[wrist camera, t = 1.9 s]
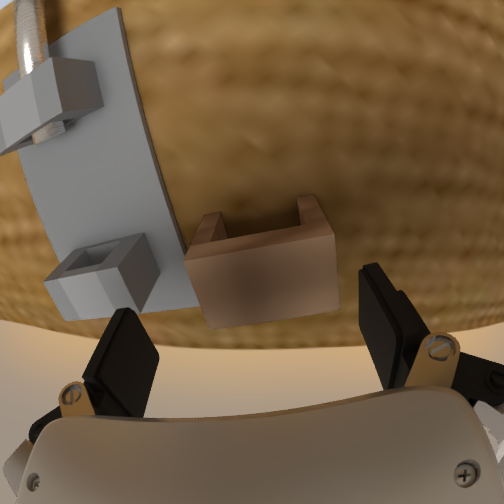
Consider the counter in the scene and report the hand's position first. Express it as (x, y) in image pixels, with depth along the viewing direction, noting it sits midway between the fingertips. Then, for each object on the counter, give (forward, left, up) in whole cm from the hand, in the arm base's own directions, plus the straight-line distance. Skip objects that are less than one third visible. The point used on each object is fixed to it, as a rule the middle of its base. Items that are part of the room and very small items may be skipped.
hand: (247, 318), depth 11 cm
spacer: (-1, 0, -7) cm, 7 cm away
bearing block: (+9, -6, -7) cm, 13 cm away
